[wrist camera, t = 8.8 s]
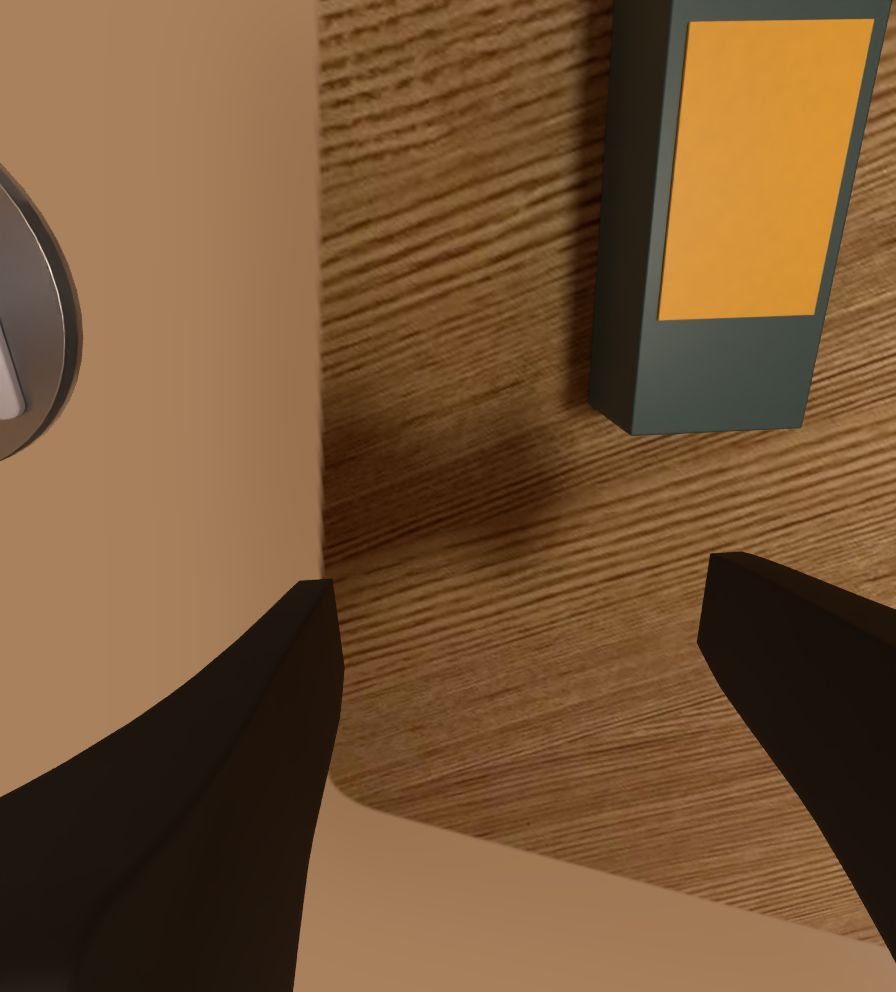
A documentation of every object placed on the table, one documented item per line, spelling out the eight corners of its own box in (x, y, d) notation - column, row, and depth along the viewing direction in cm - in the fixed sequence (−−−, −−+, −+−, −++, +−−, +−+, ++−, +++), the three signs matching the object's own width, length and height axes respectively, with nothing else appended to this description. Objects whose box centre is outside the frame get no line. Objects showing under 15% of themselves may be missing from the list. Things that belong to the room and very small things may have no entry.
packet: (726, 398, 19) (804, 429, 15) (587, 404, 19) (631, 437, 15) (798, -59, 15) (934, -176, 11) (617, -57, 14) (690, -176, 11)
